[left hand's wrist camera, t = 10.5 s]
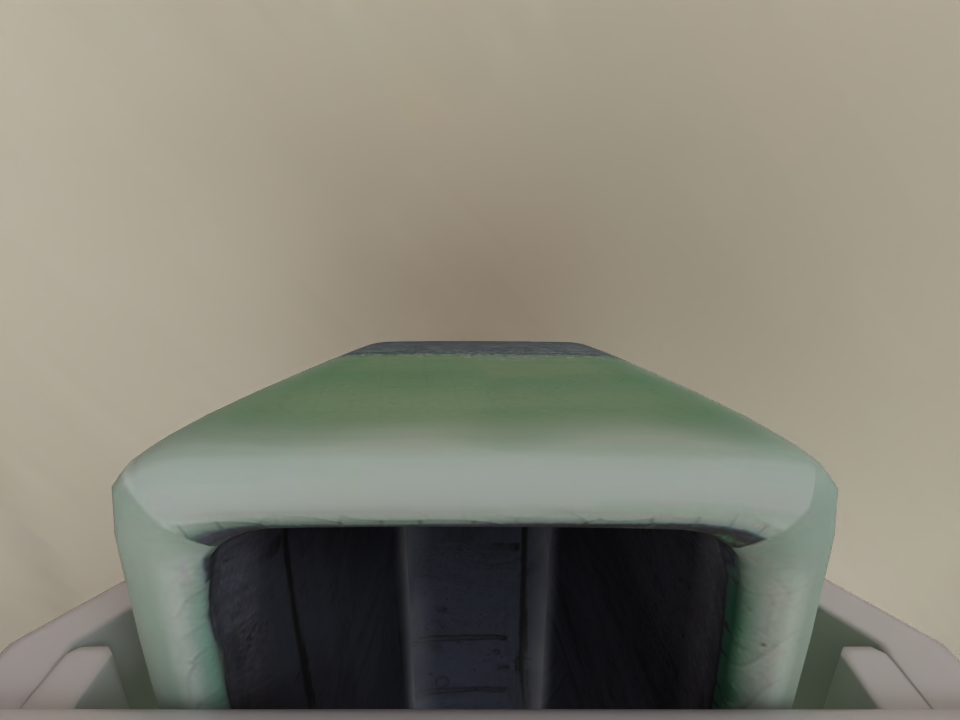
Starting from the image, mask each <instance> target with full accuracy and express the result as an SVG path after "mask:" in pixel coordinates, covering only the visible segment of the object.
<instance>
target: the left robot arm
mask: <svg viewBox="0 0 960 720" xmlns="http://www.w3.org/2000/svg"><path fill="white" fill-rule="evenodd" d="M0 720H960V661H959V660H958V659H957V658H956V657H955V656H954V655H953V654H952V653H951V652H950V651H949V650H948V649H947V647H946V646H945V645H943V644H942V643H940V642H938V641H936V640H934V639H933V638H931V637H929V636H927V635H925V634H924V633H922V632H920V631H918V630H916V629H915V628H913V627H911V626H909V625H907V624H906V623H904V622H902V621H900V620H898V619H897V618H895V617H893V616H891V615H890V614H888V613H886V612H884V611H882V610H881V609H879V608H877V607H875V606H873V605H872V604H870V603H868V602H866V601H864V600H863V599H861V598H859V597H857V596H855V595H854V594H852V593H850V592H848V591H846V590H845V589H843V588H841V587H839V586H838V585H836V584H834V583H832V582H830V581H829V580H827V579H824V583H823V587H822V591H821V596H820V600H819V604H818V609H817V613H816V617H815V621H814V626H813V630H812V634H811V639H810V643H809V646H808V650H807V654H806V657H805V661H804V665H803V669H802V672H801V676H800V680H799V683H798V687H797V691H796V694H795V698H794V702H793V705H792V709H159V708H158V705H157V701H156V697H155V694H154V690H153V687H152V683H151V679H150V676H149V672H148V668H147V665H146V661H145V658H144V654H143V650H142V647H141V643H140V640H139V635H138V631H137V627H136V623H135V618H134V614H133V610H132V606H131V602H130V597H129V593H128V589H127V585H126V580H125V581H123V582H121V583H120V584H118V585H116V586H114V587H112V588H111V589H109V590H107V591H105V592H103V593H101V594H100V595H98V596H96V597H94V598H92V599H91V600H89V601H87V602H85V603H83V604H81V605H80V606H78V607H76V608H74V609H72V610H71V611H69V612H67V613H65V614H63V615H61V616H60V617H58V618H56V619H54V620H52V621H51V622H49V623H47V624H45V625H43V626H42V627H40V628H38V629H36V630H34V631H32V632H31V633H29V634H27V635H25V636H23V637H22V638H20V639H18V640H16V641H14V642H12V643H11V644H9V645H8V646H7V647H6V648H5V649H4V651H3V652H2V653H1V654H0Z"/></svg>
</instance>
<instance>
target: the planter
mask: <svg viewBox="0 0 960 720" xmlns="http://www.w3.org/2000/svg"><path fill="white" fill-rule="evenodd" d="M837 496H838V488H837V486H836V485H835V483H834V482H833V480H832V479H831V477H830V476H829V474H828V473H827V472H826V470H825V469H824V468H823V466H822V465H821V464H820V462H818V461H817V460H816V459H814V458H813V457H811V456H810V455H809V454H807V453H806V452H805V451H803V450H802V449H801V448H799V447H798V446H796V445H795V444H793V443H791V442H790V441H788V440H786V439H785V438H783V437H781V436H780V435H778V434H776V433H774V432H773V431H771V430H769V429H767V428H765V427H764V426H762V425H760V424H758V423H757V422H755V421H753V420H751V419H749V418H748V417H746V416H744V415H742V414H740V413H738V412H736V411H734V410H731V409H729V408H727V407H725V406H723V405H721V404H719V403H717V402H715V401H713V400H711V399H709V398H707V397H705V396H703V395H701V394H699V393H696V392H694V391H692V390H690V389H688V388H685V387H683V386H681V385H679V384H677V383H674V382H672V381H670V380H668V379H666V378H663V377H661V376H659V375H657V374H655V373H652V372H650V371H648V370H645V369H643V368H641V367H638V366H636V365H634V364H632V363H629V362H627V361H625V360H622V359H620V358H617V357H615V356H612V355H610V354H608V353H605V352H603V351H600V350H597V349H595V348H592V347H589V346H586V345H583V344H578V343H571V342H506V341H420V342H381V343H375V344H371V345H368V346H365V347H363V348H360V349H357V350H355V351H352V352H350V353H347V354H344V355H342V356H339V357H337V358H334V359H332V360H329V361H327V362H325V363H322V364H320V365H317V366H315V367H313V368H310V369H308V370H305V371H303V372H301V373H298V374H296V375H294V376H291V377H289V378H287V379H285V380H282V381H280V382H278V383H275V384H273V385H271V386H269V387H266V388H264V389H262V390H260V391H257V392H255V393H253V394H251V395H249V396H246V397H244V398H242V399H240V400H238V401H236V402H234V403H231V404H229V405H227V406H225V407H223V408H221V409H219V410H217V411H214V412H212V413H210V414H208V415H206V416H204V417H202V418H200V419H199V420H197V421H195V422H193V423H191V424H189V425H187V426H186V427H184V428H182V429H180V430H178V431H176V432H174V433H173V434H171V435H169V436H167V437H166V438H164V439H162V440H161V441H159V442H158V443H156V444H154V445H153V446H151V447H150V448H149V449H147V450H146V451H144V452H143V453H142V454H140V455H139V456H137V457H136V458H135V459H133V460H132V461H131V462H130V463H129V464H128V465H127V467H126V468H125V469H124V470H123V472H122V473H121V474H120V475H119V477H118V478H117V480H116V481H115V483H114V484H113V486H112V498H113V515H114V531H115V537H116V542H117V547H118V551H119V555H120V559H121V563H122V568H123V572H124V576H125V580H126V585H127V589H128V593H129V597H130V602H131V606H132V610H133V614H134V618H135V623H136V627H137V631H138V635H139V640H140V643H141V647H142V650H143V654H144V658H145V661H146V665H147V668H148V672H149V676H150V679H151V683H152V687H153V690H154V694H155V697H156V701H157V705H158V708H159V709H792V705H793V702H794V698H795V694H796V691H797V687H798V683H799V680H800V676H801V672H802V669H803V665H804V661H805V657H806V654H807V650H808V646H809V643H810V639H811V634H812V630H813V626H814V621H815V617H816V613H817V609H818V604H819V600H820V596H821V591H822V587H823V583H824V579H825V574H826V570H827V566H828V561H829V557H830V553H831V549H832V544H833V540H834V535H835V522H836V509H837Z"/></svg>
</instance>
